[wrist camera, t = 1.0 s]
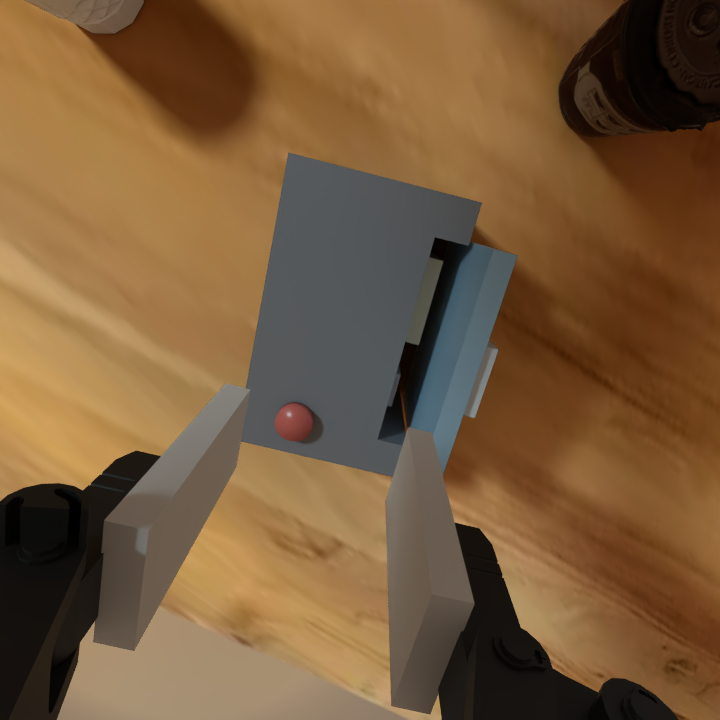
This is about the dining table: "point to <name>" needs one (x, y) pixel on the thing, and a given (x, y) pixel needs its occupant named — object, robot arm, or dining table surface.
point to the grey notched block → (345, 311)
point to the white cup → (93, 13)
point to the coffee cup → (646, 70)
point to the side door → (457, 342)
